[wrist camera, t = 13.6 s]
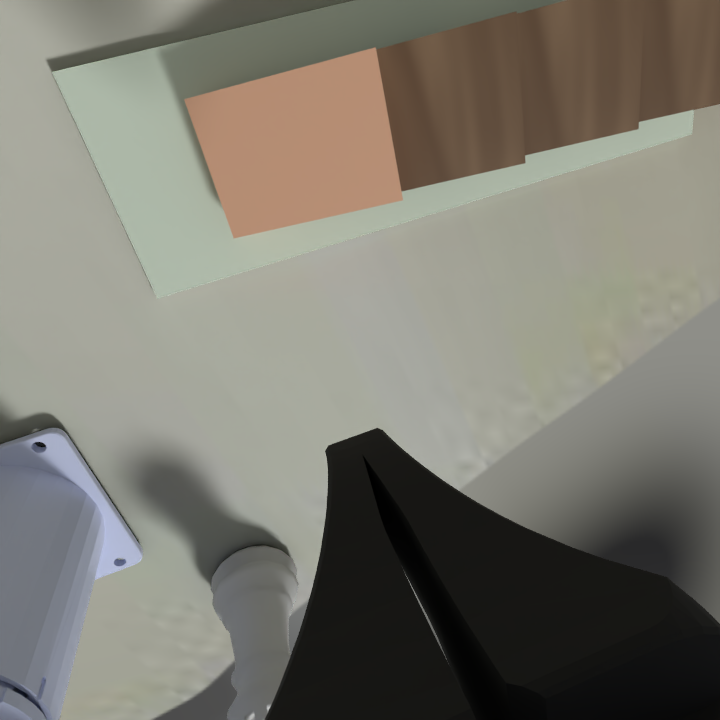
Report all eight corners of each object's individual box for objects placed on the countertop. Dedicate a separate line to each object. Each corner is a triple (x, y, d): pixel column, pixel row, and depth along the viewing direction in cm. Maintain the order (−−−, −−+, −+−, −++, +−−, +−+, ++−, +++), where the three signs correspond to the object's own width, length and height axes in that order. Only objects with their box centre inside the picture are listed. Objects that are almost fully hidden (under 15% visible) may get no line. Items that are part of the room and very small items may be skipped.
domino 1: (356, 202, 18) (525, 163, 17) (325, 63, 16) (516, 11, 15) (357, 194, 19) (515, 157, 18) (328, 64, 17) (506, 16, 16)
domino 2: (470, 168, 18) (638, 129, 17) (454, 30, 16) (645, -22, 15) (464, 163, 19) (621, 126, 19) (449, 34, 17) (625, -14, 17)
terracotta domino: (233, 238, 17) (403, 200, 16) (184, 99, 15) (375, 47, 14) (243, 228, 18) (401, 192, 17) (198, 97, 16) (375, 49, 15)
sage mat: (158, 296, 19) (157, 298, 18) (54, 72, 15) (52, 71, 15) (686, 134, 22) (691, 134, 22) (705, -82, 18) (712, -86, 18)
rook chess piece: (216, 611, 26) (219, 783, 20) (204, 551, 25) (202, 719, 18) (298, 591, 28) (328, 748, 21) (292, 532, 26) (323, 683, 19)
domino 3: (581, 134, 19) (755, 95, 18) (581, -2, 17) (777, -56, 16) (571, 131, 20) (733, 94, 19) (569, 3, 18) (752, -47, 17)
